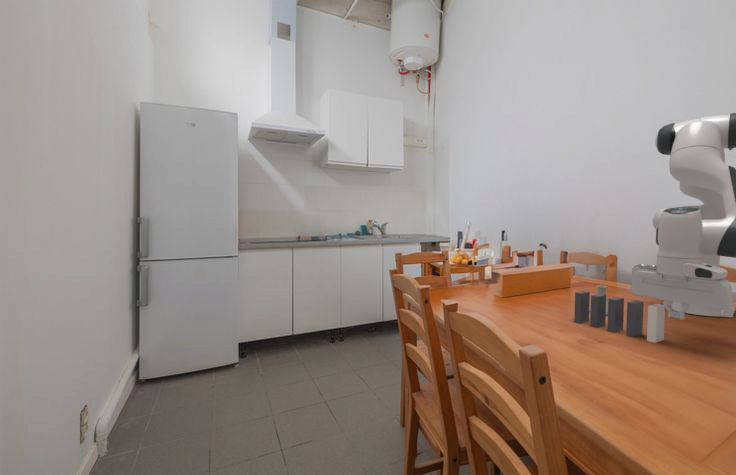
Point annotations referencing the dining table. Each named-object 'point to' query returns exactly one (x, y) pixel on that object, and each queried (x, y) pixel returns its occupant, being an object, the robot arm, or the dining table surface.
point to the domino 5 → (655, 323)
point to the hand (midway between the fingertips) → (676, 318)
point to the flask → (603, 291)
